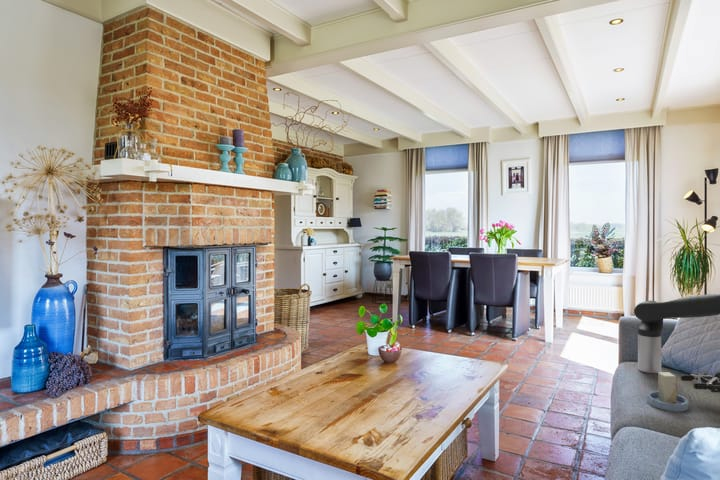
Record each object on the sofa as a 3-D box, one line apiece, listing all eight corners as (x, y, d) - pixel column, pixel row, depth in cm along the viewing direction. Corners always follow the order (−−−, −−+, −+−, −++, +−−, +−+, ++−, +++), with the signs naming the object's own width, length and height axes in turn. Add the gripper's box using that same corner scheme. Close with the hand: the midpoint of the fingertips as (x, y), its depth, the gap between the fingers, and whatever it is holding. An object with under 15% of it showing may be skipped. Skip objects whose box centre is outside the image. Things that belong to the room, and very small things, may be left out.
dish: (641, 396, 177) (641, 390, 177) (675, 397, 176) (675, 391, 176) (658, 410, 165) (658, 404, 164) (695, 411, 163) (695, 405, 163)
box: (677, 404, 167) (676, 376, 167) (664, 404, 168) (664, 376, 167) (669, 399, 173) (669, 371, 172) (657, 398, 173) (657, 371, 173)
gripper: (721, 366, 173) (676, 366, 176) (747, 379, 159) (699, 379, 161) (721, 384, 174) (676, 384, 176) (747, 399, 159) (699, 398, 162)
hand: (687, 381), depth 169 cm, fingers open, 8 cm apart
